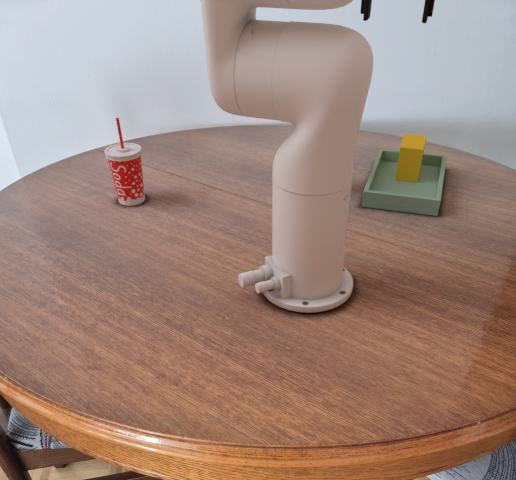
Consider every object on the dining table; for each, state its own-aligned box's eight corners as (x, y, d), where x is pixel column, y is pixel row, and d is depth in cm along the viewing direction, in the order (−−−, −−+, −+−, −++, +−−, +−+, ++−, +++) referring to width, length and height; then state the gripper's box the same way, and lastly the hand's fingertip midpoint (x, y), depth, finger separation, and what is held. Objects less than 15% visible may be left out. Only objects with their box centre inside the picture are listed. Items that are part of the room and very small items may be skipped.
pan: (437, 216, 90) (440, 200, 88) (361, 206, 93) (363, 191, 91) (443, 169, 104) (446, 155, 102) (377, 162, 107) (379, 148, 105)
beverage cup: (107, 200, 96) (90, 119, 87) (135, 189, 99) (121, 109, 90) (128, 211, 93) (112, 127, 84) (156, 199, 96) (144, 117, 87)
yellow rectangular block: (417, 182, 98) (423, 149, 94) (394, 180, 99) (400, 147, 95) (420, 167, 103) (426, 135, 99) (399, 165, 104) (404, 133, 100)
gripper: (349, -112, 79) (340, 22, 91) (473, -113, 75) (447, 27, 87) (358, -113, 85) (348, 14, 96) (474, -114, 81) (449, 18, 92)
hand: (395, 20), depth 91 cm, fingers open, 9 cm apart
